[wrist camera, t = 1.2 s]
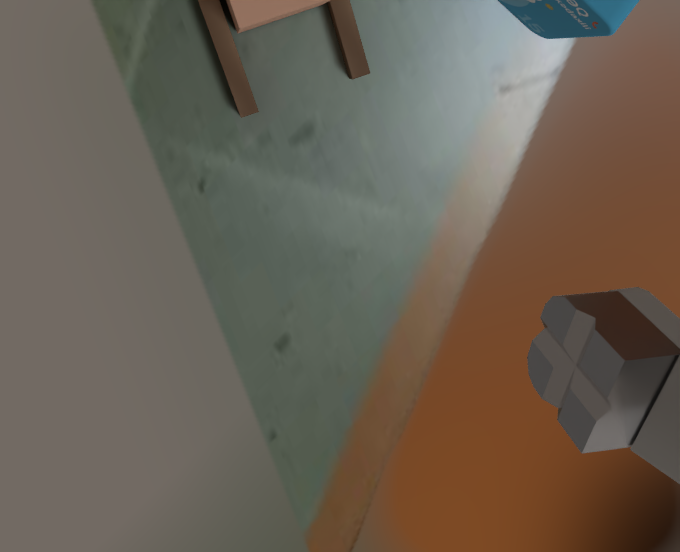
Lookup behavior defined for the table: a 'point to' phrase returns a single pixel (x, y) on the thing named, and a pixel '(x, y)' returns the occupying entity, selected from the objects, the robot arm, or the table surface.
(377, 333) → the table surface
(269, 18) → the block
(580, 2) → the data package
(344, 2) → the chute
